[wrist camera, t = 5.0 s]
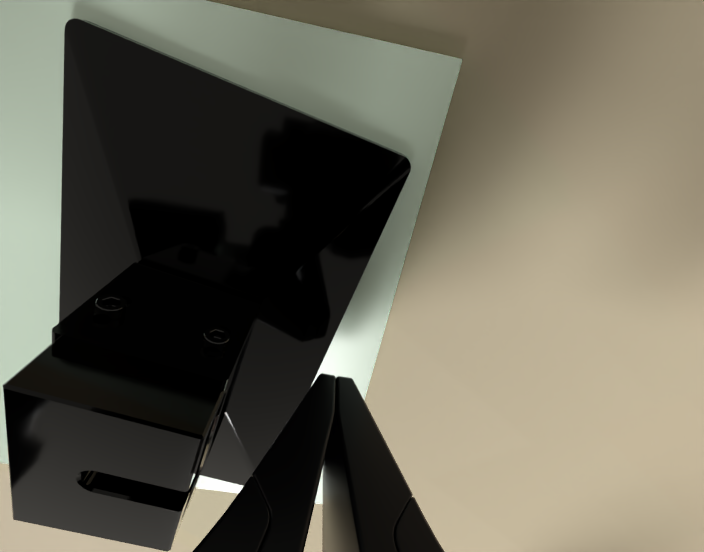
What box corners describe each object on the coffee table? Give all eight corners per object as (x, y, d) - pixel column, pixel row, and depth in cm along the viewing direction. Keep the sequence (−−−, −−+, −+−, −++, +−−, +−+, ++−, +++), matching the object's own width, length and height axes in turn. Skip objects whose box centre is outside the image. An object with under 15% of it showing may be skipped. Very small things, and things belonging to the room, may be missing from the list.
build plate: (265, 478, 14) (225, 651, 9) (58, 426, 12) (-91, 597, 8) (414, 158, 8) (470, 242, 4) (61, 8, 7) (-387, -96, 3)
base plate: (-169, 432, 13) (-305, 523, 10) (-598, -182, 6) (-1360, -393, 3) (334, 497, 14) (328, 592, 12) (458, 60, 7) (516, 47, 5)
